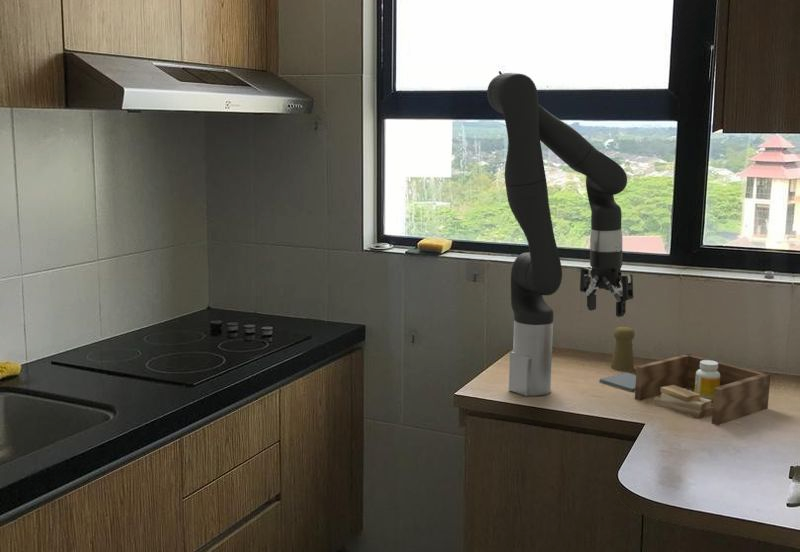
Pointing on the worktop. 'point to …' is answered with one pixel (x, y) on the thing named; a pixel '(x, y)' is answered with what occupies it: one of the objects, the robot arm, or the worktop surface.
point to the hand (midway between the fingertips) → (605, 313)
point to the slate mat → (621, 381)
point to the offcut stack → (683, 401)
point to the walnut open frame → (731, 398)
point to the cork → (623, 349)
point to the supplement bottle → (707, 379)
